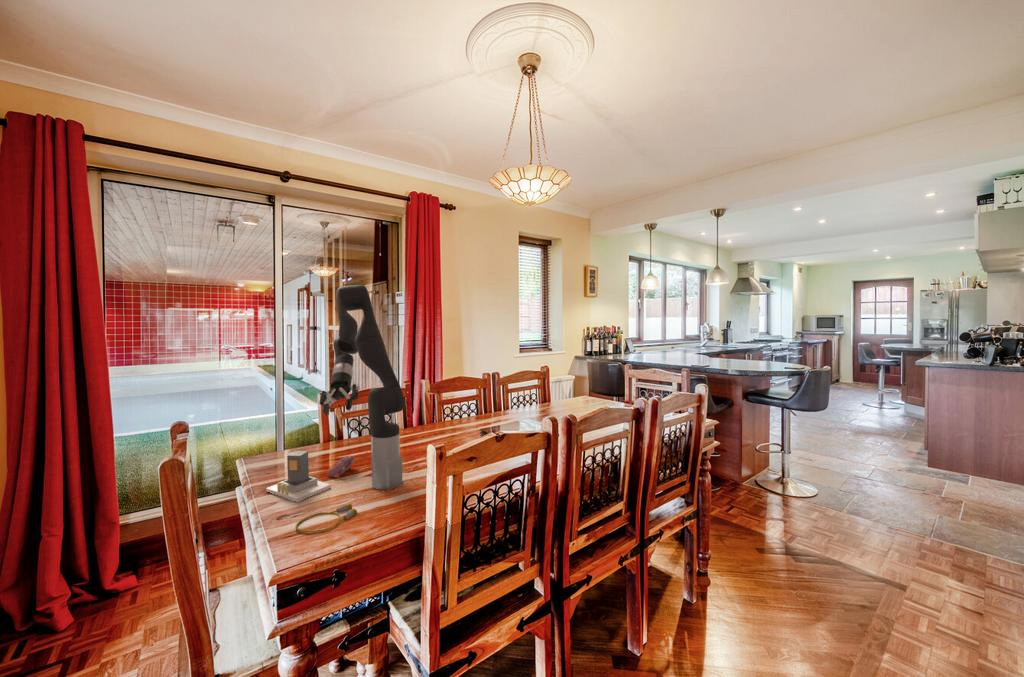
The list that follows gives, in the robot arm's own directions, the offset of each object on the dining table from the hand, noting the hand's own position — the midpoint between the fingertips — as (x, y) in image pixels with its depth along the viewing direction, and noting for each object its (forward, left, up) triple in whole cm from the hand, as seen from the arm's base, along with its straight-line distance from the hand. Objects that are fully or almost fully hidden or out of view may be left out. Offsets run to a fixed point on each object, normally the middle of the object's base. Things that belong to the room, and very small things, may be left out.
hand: (337, 411), depth 154 cm
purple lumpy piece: (-6, +3, -21) cm, 22 cm away
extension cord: (-32, +29, -22) cm, 49 cm away
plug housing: (-6, +20, -20) cm, 29 cm away
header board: (-6, +20, -21) cm, 30 cm away
